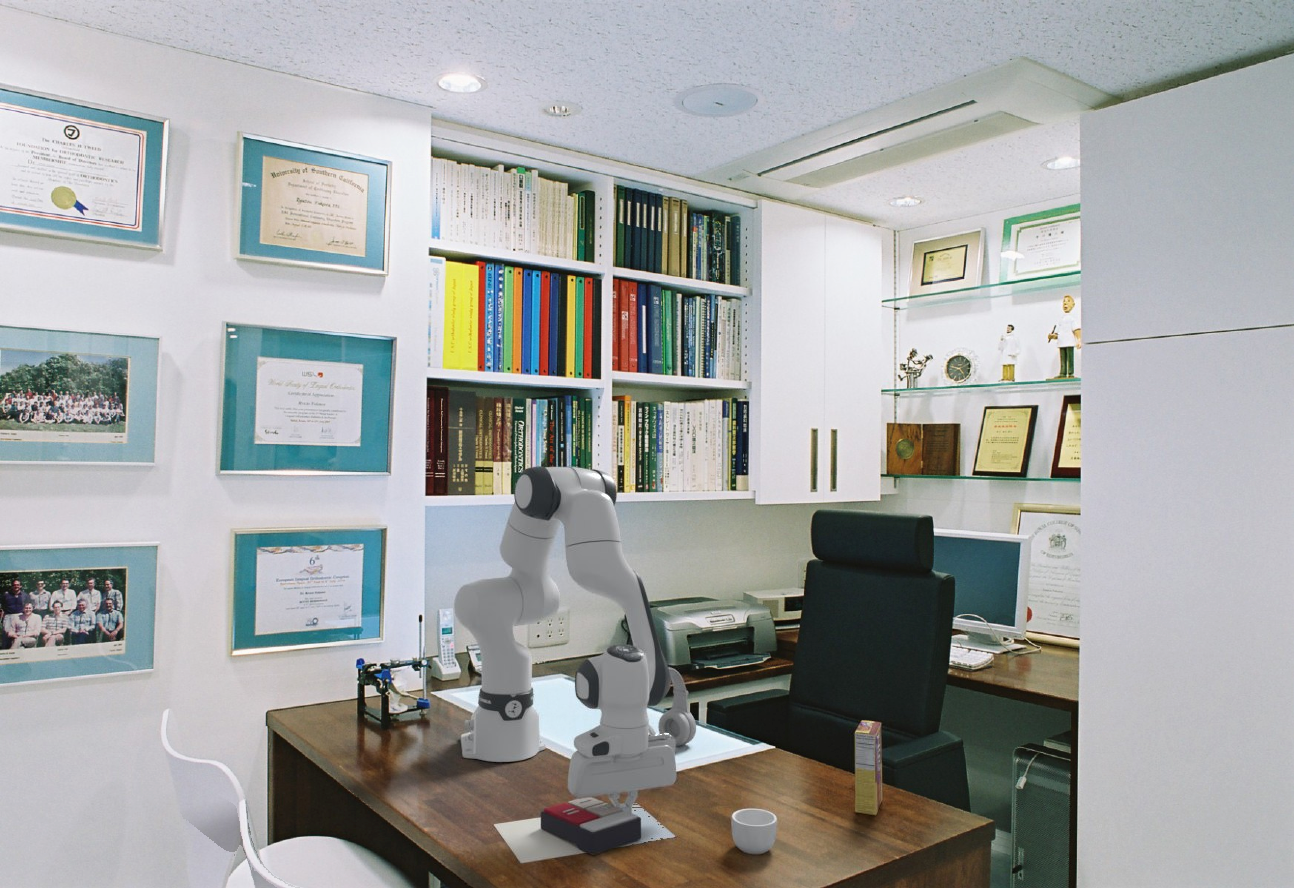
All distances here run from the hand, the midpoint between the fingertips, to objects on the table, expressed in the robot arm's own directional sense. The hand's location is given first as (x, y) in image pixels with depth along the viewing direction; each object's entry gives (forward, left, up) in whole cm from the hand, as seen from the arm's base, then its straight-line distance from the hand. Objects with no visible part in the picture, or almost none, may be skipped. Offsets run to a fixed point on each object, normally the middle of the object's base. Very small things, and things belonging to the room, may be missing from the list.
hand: (622, 815), depth 164 cm
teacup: (+17, +18, -2) cm, 24 cm away
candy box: (+9, +48, -2) cm, 49 cm away
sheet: (0, -7, -2) cm, 8 cm away
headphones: (-35, +24, -2) cm, 42 cm away
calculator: (+2, -7, -2) cm, 7 cm away
